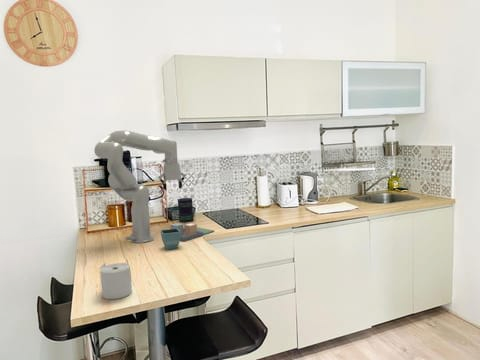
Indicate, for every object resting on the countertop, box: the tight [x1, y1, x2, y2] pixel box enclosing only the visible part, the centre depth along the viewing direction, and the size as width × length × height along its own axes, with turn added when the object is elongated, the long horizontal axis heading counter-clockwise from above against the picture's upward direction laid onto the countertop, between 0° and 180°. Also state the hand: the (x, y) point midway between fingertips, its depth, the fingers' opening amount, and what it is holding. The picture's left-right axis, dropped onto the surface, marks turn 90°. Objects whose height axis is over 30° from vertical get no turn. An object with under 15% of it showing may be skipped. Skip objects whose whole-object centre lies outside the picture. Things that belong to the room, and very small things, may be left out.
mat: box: [197, 226, 215, 236], centre depth 230 cm, size 8×14×1 cm, turn 48°
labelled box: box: [183, 222, 198, 236], centre depth 219 cm, size 5×5×7 cm
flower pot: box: [160, 228, 181, 250], centre depth 199 cm, size 9×9×9 cm
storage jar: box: [177, 197, 194, 224], centre depth 259 cm, size 10×10×15 cm
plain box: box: [170, 222, 184, 236], centre depth 220 cm, size 5×5×6 cm
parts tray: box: [180, 227, 204, 243], centre depth 220 cm, size 14×16×2 cm
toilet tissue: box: [99, 262, 133, 300], centre depth 143 cm, size 11×12×10 cm
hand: (172, 189), depth 236 cm, fingers open, 9 cm apart
